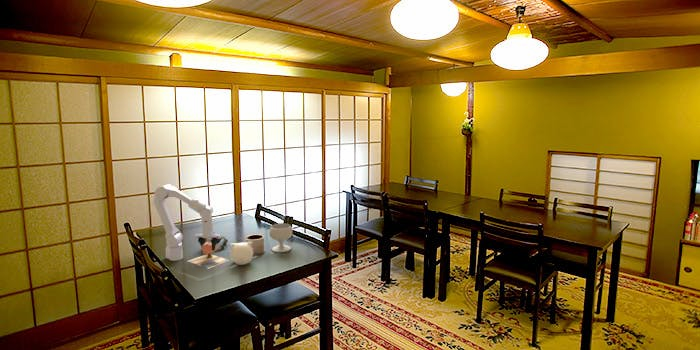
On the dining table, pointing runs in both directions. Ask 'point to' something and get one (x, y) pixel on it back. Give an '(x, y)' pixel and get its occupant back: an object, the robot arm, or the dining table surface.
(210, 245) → the strapped orange box
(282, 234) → the chalice
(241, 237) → the dining table surface
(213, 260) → the board
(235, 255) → the cat head
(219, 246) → the lucky cat figurine
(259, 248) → the planter
